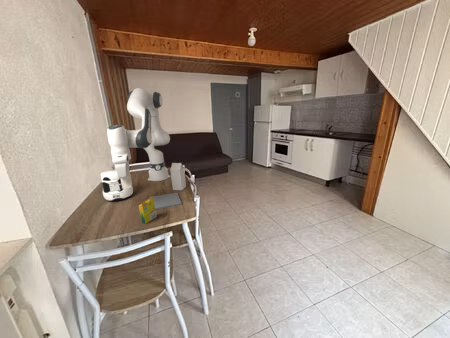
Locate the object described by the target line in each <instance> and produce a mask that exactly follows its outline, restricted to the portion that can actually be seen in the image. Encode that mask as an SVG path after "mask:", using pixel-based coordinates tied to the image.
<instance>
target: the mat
mask: <svg viewBox="0 0 450 338" xmlns="http://www.w3.org/2000/svg"><path fill="white" fill-rule="evenodd" d="M151 197H153V200H154V205H155V210H157V211H158V210H161V209H166V208H167V209H168V208H171V207H176V206H182V200H181V198H180V196H179V194H178V191H177V192H172V193H165V194H161V195H155V196H150V197H148V199H149V198H151Z"/></svg>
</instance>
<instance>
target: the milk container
mask: <svg viewBox="0 0 450 338" xmlns="http://www.w3.org/2000/svg"><path fill="white" fill-rule="evenodd" d="M100 179H101V184H102V196H103V198H104V199H105V201H109V202H116V201H117V202H118V201H122V200H125V199H127V198H129V197H130V196H132V195H133V192H134V188H133V186H132V187H130V188H124V189H122V184H121V179H119V177H118V175H117V172H116V169H114V168H113V169H109V170H105V171H102V172H101V173H100Z"/></svg>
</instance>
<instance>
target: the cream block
mask: <svg viewBox="0 0 450 338" xmlns="http://www.w3.org/2000/svg"><path fill="white" fill-rule="evenodd" d="M127 181H128V182H127V183H124V182H123V179H122V178H121V184H122V189H124V188H130V187H133V182H132V176H131V171H130V170H129V172H128V175H127Z"/></svg>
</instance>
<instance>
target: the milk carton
mask: <svg viewBox="0 0 450 338" xmlns="http://www.w3.org/2000/svg"><path fill="white" fill-rule="evenodd" d="M169 170H170V176H171V177H170V179H171V185H172V186H171V187H172V191H184V189H185V188H186V187H187V182H186V175H185V167H184V165H183V164H182V162H171V167H170V169H169Z"/></svg>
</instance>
